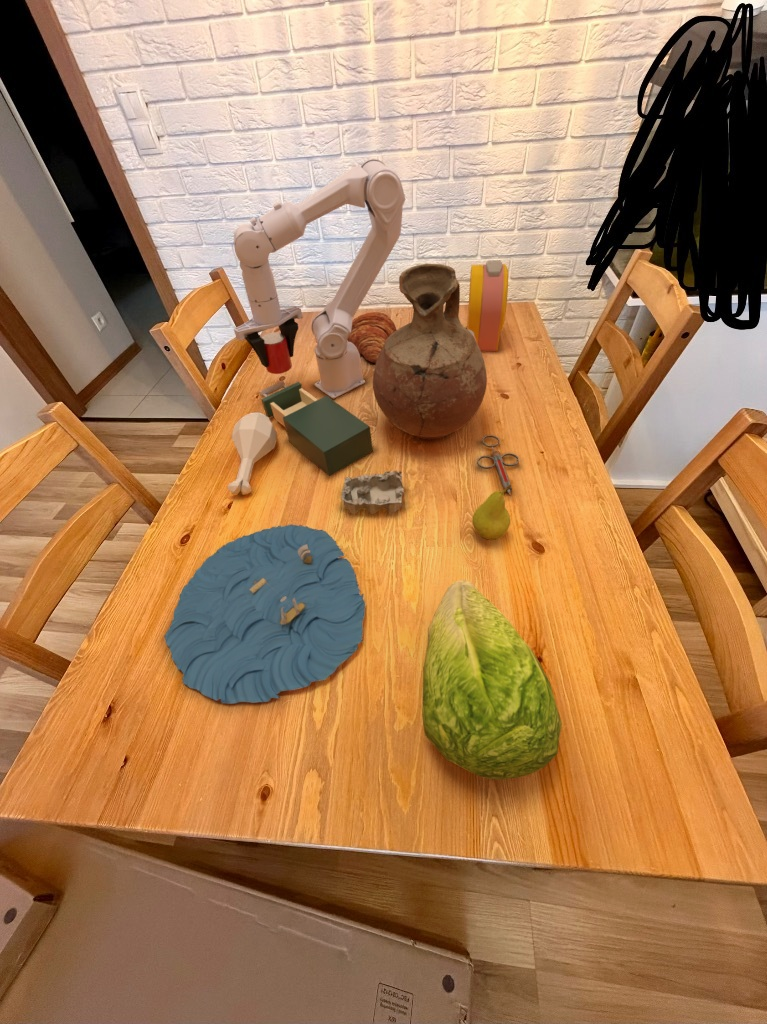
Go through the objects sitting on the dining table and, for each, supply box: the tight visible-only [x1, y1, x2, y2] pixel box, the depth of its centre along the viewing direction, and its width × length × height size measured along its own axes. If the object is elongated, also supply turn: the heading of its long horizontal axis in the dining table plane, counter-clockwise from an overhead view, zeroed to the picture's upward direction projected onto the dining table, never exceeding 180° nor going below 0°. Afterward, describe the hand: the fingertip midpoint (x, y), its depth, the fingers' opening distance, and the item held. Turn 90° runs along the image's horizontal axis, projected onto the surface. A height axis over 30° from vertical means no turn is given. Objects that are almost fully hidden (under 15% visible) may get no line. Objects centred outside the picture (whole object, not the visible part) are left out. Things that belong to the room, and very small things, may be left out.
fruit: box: [471, 484, 512, 541], centre depth 71 cm, size 6×6×12 cm
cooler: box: [283, 395, 374, 477], centre depth 91 cm, size 15×11×6 cm
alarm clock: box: [466, 259, 509, 352], centre depth 111 cm, size 15×8×18 cm, turn 173°
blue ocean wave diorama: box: [164, 524, 366, 705], centre depth 67 cm, size 30×30×5 cm
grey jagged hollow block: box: [340, 470, 405, 515], centre depth 81 cm, size 11×8×4 cm
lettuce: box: [421, 579, 563, 781], centre depth 55 cm, size 15×24×14 cm, turn 3°
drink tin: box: [260, 332, 293, 375], centre depth 99 cm, size 6×6×7 cm
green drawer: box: [258, 380, 319, 428], centre depth 98 cm, size 18×9×4 cm, turn 40°
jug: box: [372, 263, 488, 440], centre depth 84 cm, size 22×22×30 cm
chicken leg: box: [227, 411, 278, 496], centre depth 88 cm, size 8×18×8 cm, turn 175°
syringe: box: [476, 434, 520, 502], centre depth 85 cm, size 8×18×2 cm, turn 4°
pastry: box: [347, 311, 397, 364], centre depth 117 cm, size 17×15×8 cm
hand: (277, 360), depth 100 cm, fingers closed on drink tin, 5 cm apart
